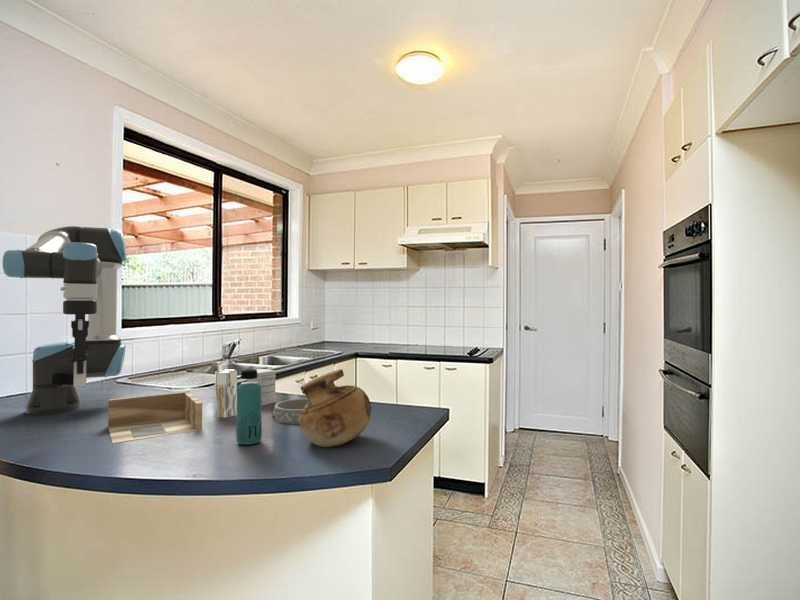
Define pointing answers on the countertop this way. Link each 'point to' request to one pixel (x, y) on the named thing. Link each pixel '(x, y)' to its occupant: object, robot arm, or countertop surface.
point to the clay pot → (333, 411)
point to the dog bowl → (289, 410)
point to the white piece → (225, 392)
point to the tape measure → (63, 379)
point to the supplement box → (266, 385)
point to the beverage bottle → (249, 409)
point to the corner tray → (153, 416)
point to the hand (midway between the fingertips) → (79, 383)
